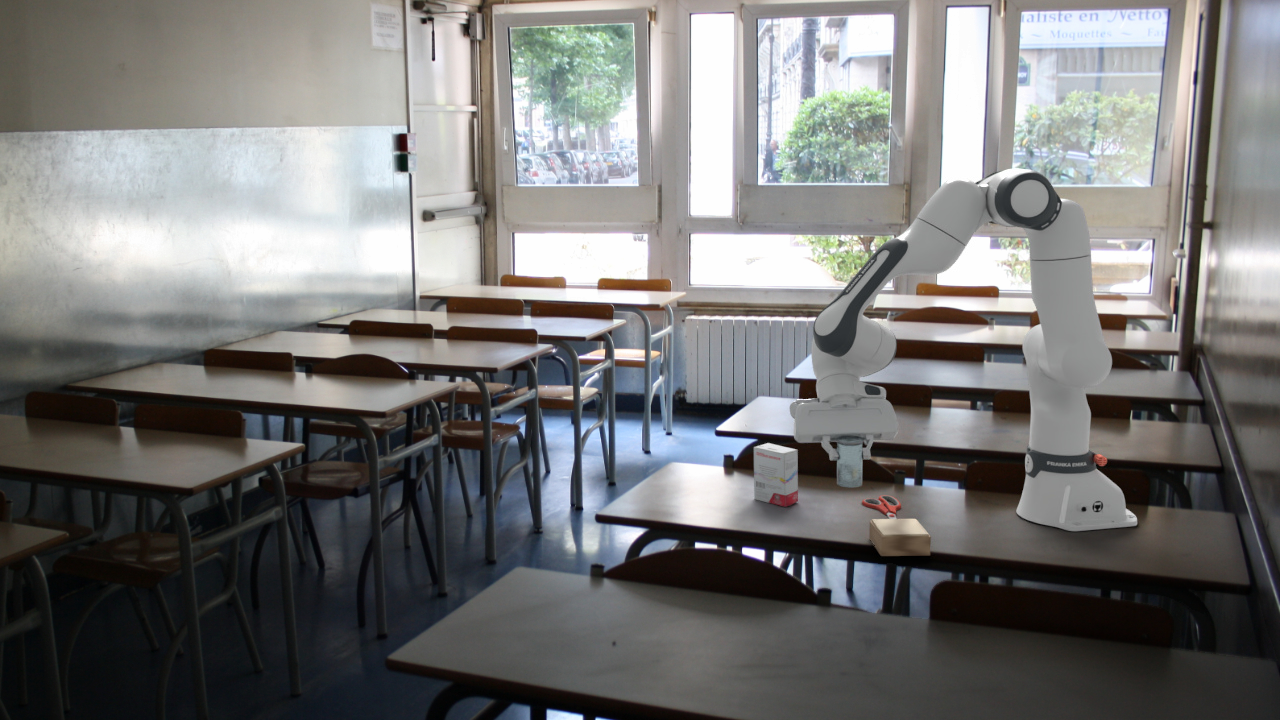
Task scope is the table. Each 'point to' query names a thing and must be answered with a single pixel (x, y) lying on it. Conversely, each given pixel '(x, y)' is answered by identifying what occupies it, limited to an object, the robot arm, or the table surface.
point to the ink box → (776, 474)
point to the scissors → (884, 505)
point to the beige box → (899, 537)
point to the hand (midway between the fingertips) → (850, 458)
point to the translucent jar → (849, 461)
